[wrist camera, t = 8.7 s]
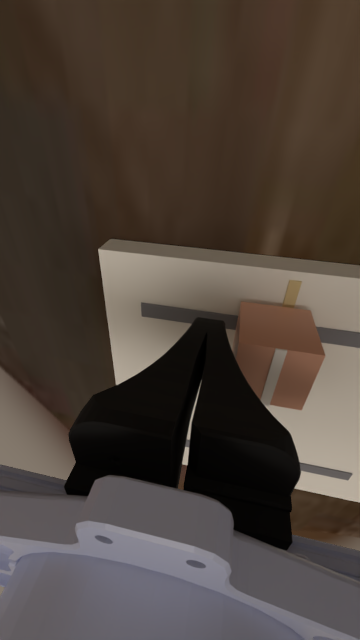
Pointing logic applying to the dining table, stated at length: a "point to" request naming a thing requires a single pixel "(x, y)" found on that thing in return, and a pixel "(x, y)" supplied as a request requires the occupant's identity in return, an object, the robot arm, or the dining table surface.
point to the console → (223, 304)
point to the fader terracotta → (278, 353)
